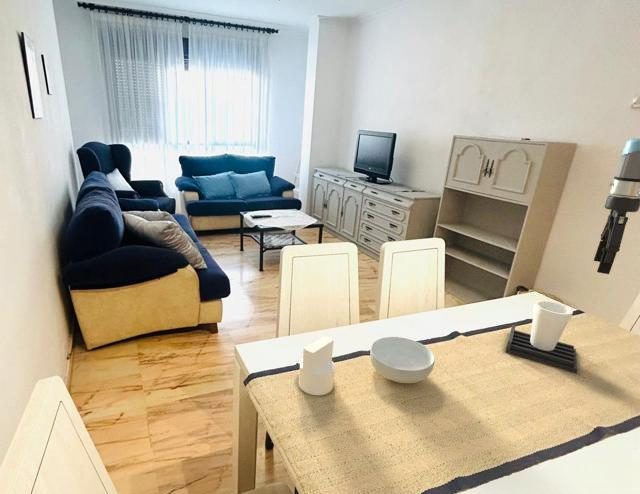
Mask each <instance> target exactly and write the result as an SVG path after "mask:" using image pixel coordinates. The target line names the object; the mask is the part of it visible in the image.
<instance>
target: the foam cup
mask: <svg viewBox="0 0 640 494" xmlns="http://www.w3.org/2000/svg"><path fill="white" fill-rule="evenodd" d="M532 310H533V315H532V322H531V332H530V334H531V339H530V343H531V345H533V346H534V347H536V348H538V349H542V350H546V351H551V350H554V348H555V346H556V344H557V343H558V342H560V338H561V337H562V334H563V333H564V331H565V329H566V327H567V325H568V324H569V322H570V321H571V319H572V316H573V314H574V310H573V309H572V308H571V307H569V306H567V305H565V304H563V303H559V302H555V301H550V300H537V301H536V302H535V303H534V306H533V308H532Z"/></svg>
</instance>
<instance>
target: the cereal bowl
mask: <svg viewBox="0 0 640 494" xmlns="http://www.w3.org/2000/svg"><path fill="white" fill-rule="evenodd" d="M369 350H370V351H369V357H370V363H371V365H372V367H373V369H374V370H375V371H376V373H378V374H379V375H380V376H382V377H383V378H386V379H387V380H389V381H392V382H396V383H400V384H414V383H419V382H422V381H424V380H425V379H427V378H428V377H429V376H430V375H431V373H432V371H433V369H434V366H435V361H436V359H435V358H436V357H435V354H434V353H433V351H432V350H431V349H430V348H429V347H428V346H426V345H424V344H423V343H421V342H419V341H416V340H414V339H411V338H406V337H402V336H401V337H400V336H386V337H381V338H378V339H376V340H374V341H373V342H372V343H371V346H370V349H369Z"/></svg>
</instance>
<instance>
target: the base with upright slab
mask: <svg viewBox="0 0 640 494" xmlns="http://www.w3.org/2000/svg"><path fill="white" fill-rule="evenodd" d="M333 350H334V339H333V338H331V337H329V336H326V335H323V336H321V337H320V338H319V339H316V340H315V341H313V342H312V343H310V344H308V345H306V346H304V347H303V353H302V355H303V356H302V358H301V360H299V372H298V373H299V374H298V386H299V388H300V390H302V391H303V392H304V393H306V394H308V395H313V396H323V395H327V394H329V393H330V392H331V391H333V388H334V380H335V371H336V364H335V363H334V361H333Z"/></svg>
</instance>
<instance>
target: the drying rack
mask: <svg viewBox="0 0 640 494" xmlns="http://www.w3.org/2000/svg"><path fill="white" fill-rule="evenodd" d="M530 339H531V333H527V332H524V331H519V330H516V324H511V329H510V332H509V335H508V339H507V343H506V347H505V351H504V352H505V353H507V354H510V355H514V356H517V357H521V358H524V359H527V360H531V361H535V362H537V363H542V364H545V365H547V366H552V367H555V368H558V369H562V370H565V371H569V372H572V373H576V374H577V372H578V361H577V360H578V359H577V348H575V346H574V345H573V344H568V343H565V342H560V341H558V343H557V344H556V346H555V348H554V350H551V351H546V350H542V349H538V348H536V347H534V346H533V345H531V343H530Z"/></svg>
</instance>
